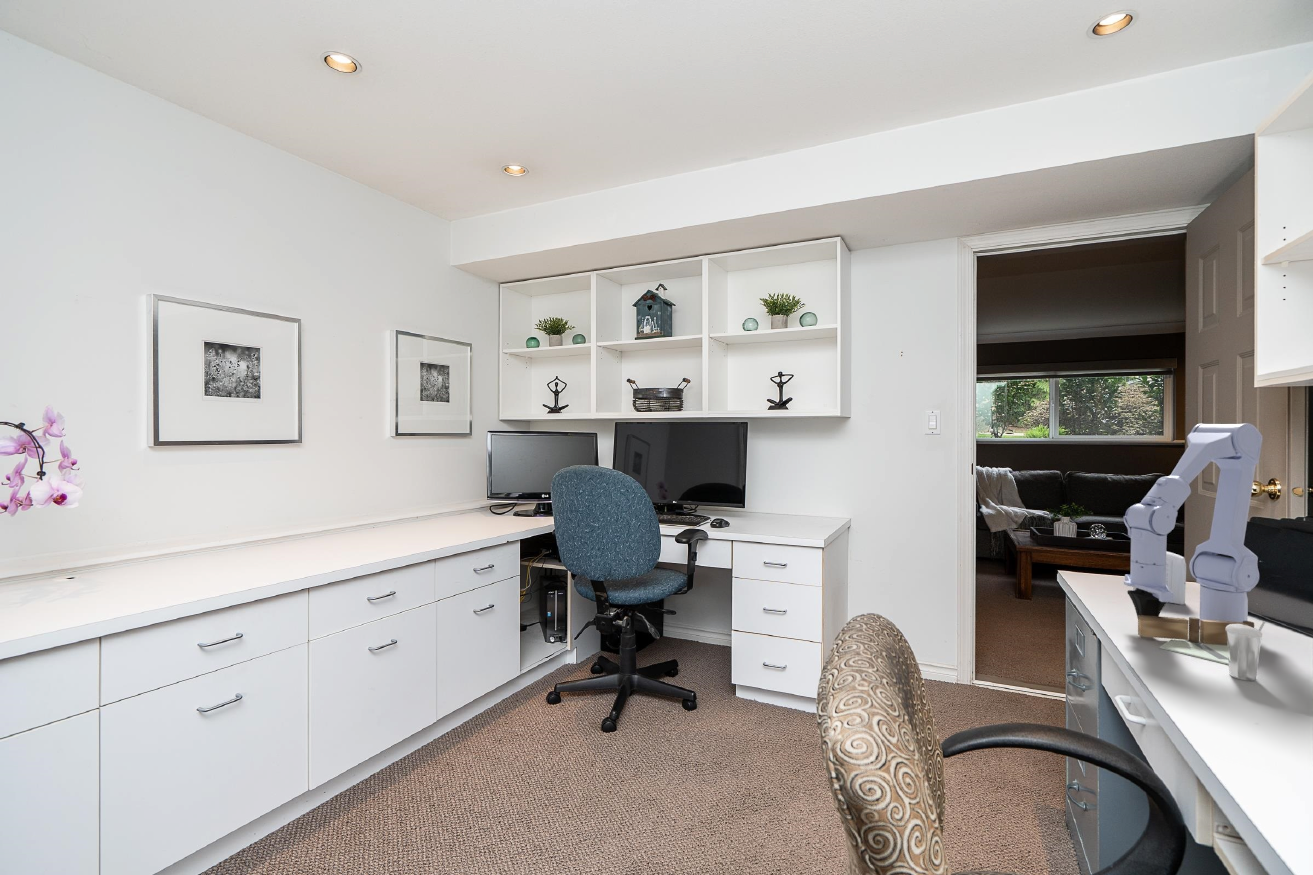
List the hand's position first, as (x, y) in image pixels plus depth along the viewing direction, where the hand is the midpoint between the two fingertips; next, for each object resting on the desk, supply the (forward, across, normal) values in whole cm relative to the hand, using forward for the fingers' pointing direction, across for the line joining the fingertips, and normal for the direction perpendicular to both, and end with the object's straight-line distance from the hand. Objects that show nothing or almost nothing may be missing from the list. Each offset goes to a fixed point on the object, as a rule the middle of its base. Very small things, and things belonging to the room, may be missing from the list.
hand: (1147, 626), depth 124 cm
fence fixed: (+2, +3, +11) cm, 12 cm away
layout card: (+2, +6, +8) cm, 10 cm away
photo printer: (+2, -30, +16) cm, 34 cm away
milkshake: (+2, +20, +5) cm, 21 cm away
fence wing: (+1, +3, +1) cm, 4 cm away
